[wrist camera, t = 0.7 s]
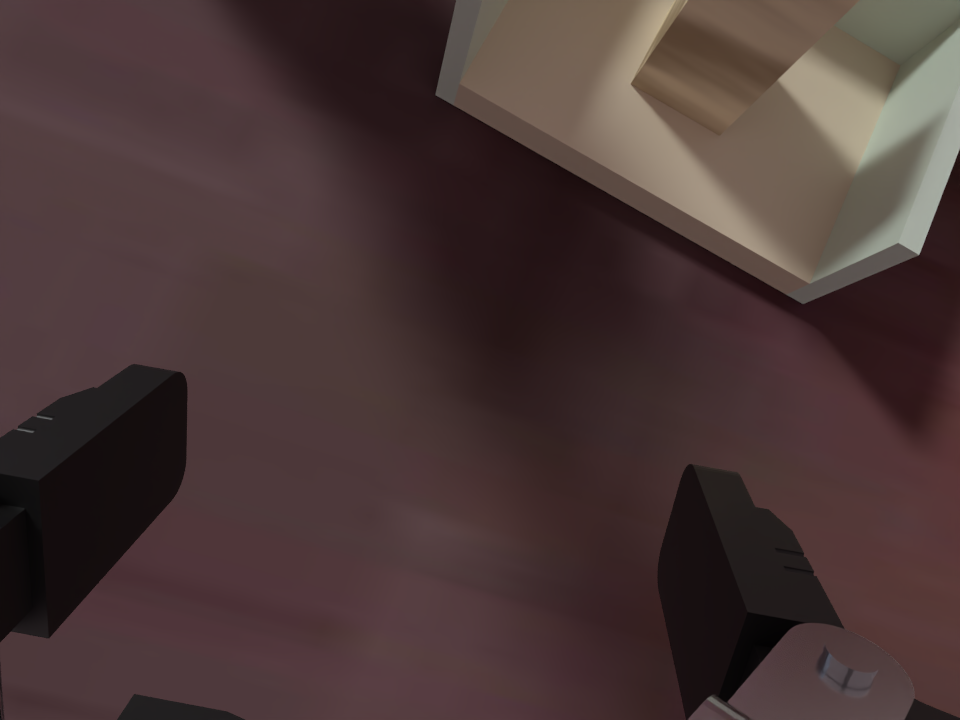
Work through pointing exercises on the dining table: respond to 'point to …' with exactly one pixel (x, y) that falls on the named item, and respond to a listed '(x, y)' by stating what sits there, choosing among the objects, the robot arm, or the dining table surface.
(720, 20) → the birch block
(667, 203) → the box
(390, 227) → the dining table surface
